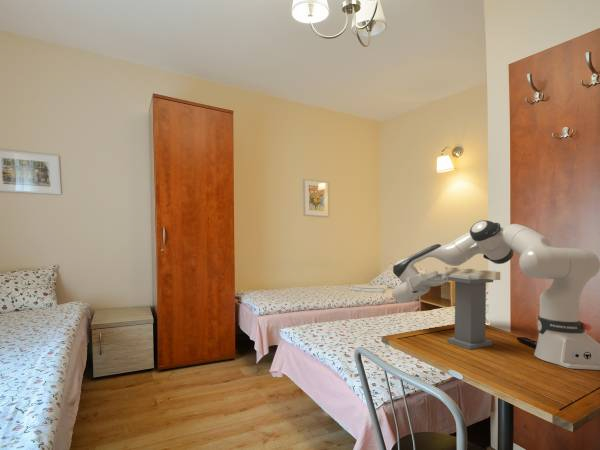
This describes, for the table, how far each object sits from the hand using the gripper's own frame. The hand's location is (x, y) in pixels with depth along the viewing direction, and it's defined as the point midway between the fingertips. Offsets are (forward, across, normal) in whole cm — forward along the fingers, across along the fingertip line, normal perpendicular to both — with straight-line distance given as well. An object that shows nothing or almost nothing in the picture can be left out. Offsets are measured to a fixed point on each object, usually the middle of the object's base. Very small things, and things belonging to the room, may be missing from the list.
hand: (443, 272), depth 151 cm
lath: (+10, -1, -6) cm, 12 cm away
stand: (-1, +2, -30) cm, 30 cm away
